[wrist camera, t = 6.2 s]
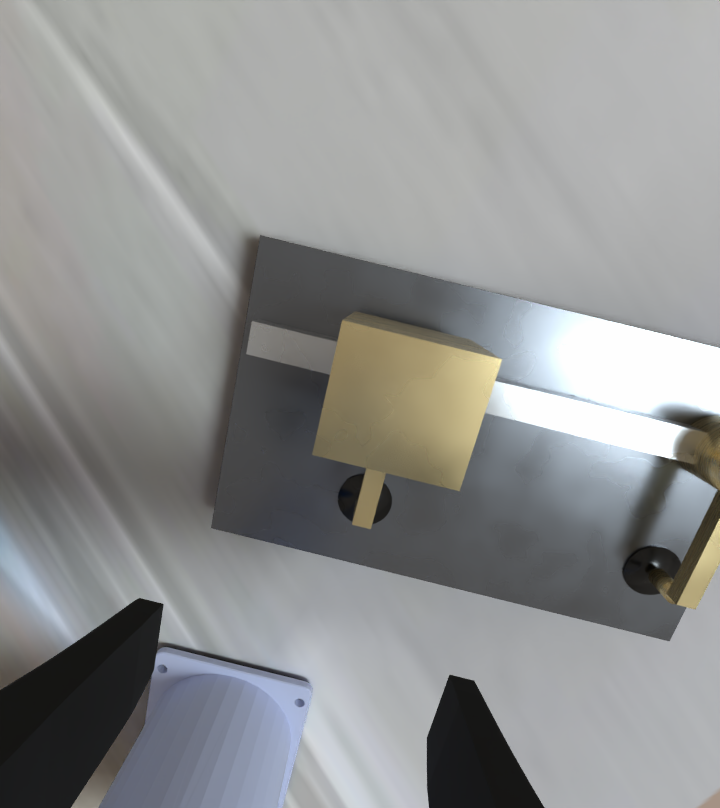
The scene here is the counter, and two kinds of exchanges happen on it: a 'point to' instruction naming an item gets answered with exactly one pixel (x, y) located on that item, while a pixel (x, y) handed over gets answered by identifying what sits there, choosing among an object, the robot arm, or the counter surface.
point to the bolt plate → (488, 448)
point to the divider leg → (403, 405)
